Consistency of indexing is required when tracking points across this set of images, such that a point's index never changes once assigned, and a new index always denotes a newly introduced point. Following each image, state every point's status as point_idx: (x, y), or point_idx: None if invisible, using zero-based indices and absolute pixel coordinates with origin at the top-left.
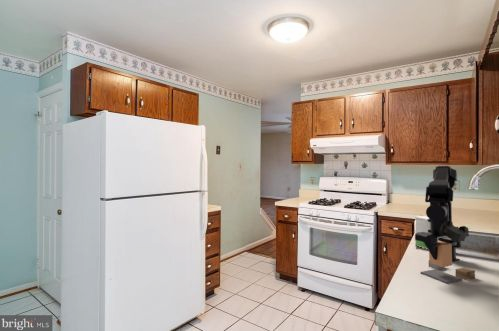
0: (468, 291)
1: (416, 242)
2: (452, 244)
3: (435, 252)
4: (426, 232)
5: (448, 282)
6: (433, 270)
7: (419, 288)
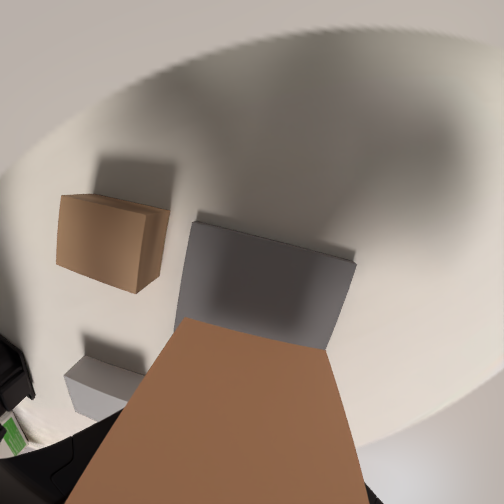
0: (371, 130)
1: (21, 448)
2: (7, 464)
3: (369, 492)
4: None
5: (336, 258)
6: None
7: (492, 307)
